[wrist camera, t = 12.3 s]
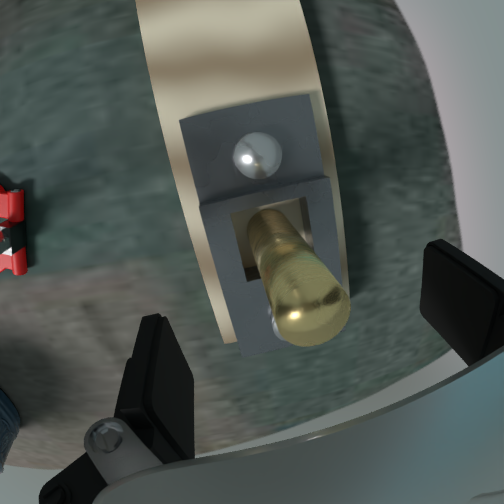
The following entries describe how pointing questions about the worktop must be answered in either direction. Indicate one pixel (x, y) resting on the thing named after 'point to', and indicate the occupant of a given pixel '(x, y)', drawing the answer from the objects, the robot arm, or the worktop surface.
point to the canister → (7, 427)
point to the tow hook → (12, 232)
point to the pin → (296, 281)
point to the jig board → (231, 98)
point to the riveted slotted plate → (258, 197)
